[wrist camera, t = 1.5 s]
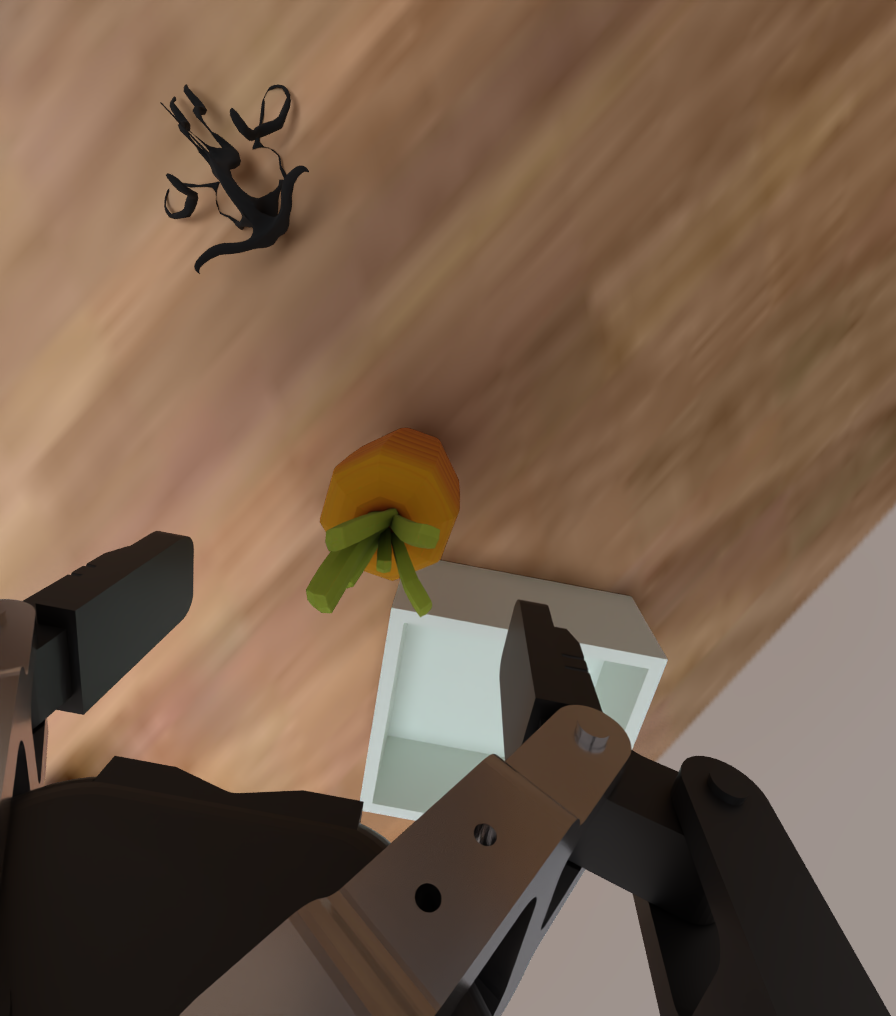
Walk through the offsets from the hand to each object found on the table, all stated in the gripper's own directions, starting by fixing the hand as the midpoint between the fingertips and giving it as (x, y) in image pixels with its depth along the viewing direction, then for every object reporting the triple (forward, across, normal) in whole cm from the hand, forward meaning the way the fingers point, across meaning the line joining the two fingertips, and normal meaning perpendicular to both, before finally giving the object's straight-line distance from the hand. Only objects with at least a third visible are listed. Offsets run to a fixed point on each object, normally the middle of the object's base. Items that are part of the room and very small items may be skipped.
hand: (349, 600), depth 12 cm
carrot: (+16, 0, 0) cm, 16 cm away
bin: (+16, -7, +13) cm, 22 cm away
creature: (+16, +10, -12) cm, 22 cm away
